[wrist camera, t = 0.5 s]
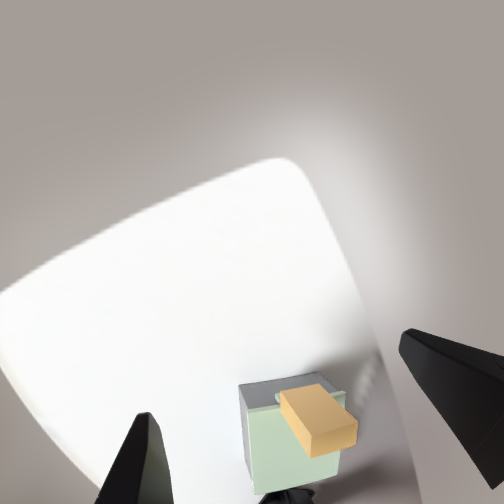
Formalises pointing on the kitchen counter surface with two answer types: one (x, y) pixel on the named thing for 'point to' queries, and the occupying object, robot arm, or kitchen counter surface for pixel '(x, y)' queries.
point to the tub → (272, 398)
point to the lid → (298, 438)
